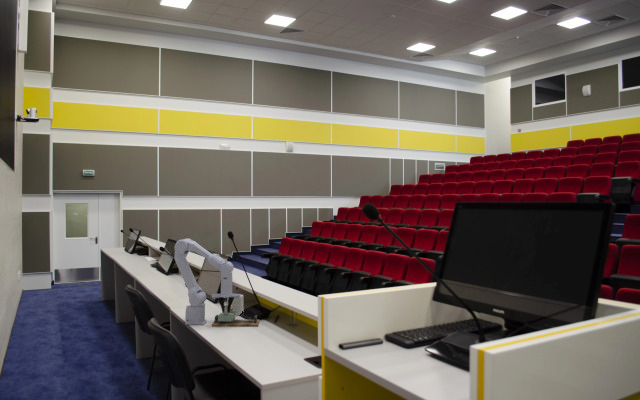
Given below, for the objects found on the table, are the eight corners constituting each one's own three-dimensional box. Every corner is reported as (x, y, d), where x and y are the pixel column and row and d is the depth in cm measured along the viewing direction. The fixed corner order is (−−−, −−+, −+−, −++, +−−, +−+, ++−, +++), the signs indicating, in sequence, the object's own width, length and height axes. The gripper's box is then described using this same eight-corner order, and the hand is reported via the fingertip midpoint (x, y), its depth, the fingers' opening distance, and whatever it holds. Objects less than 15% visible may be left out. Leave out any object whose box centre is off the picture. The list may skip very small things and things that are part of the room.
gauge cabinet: (222, 321, 239) (222, 311, 239) (223, 317, 246) (224, 308, 246) (233, 321, 240) (233, 311, 240) (235, 317, 246) (235, 308, 246)
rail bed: (211, 326, 229) (211, 318, 229) (215, 321, 239) (215, 313, 239) (257, 326, 230) (257, 318, 230) (259, 321, 240) (259, 313, 240)
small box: (243, 313, 256) (243, 294, 256) (240, 315, 251) (241, 296, 251) (229, 312, 257) (230, 294, 257) (226, 315, 252) (227, 296, 252)
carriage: (217, 321, 230) (218, 307, 230) (220, 317, 237) (220, 304, 237) (231, 321, 231) (232, 307, 231) (233, 317, 238) (234, 304, 238)
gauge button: (225, 310, 241) (225, 306, 241) (226, 308, 244) (226, 304, 244) (231, 310, 241) (231, 306, 241) (232, 308, 245) (232, 305, 245)
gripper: (210, 287, 230) (210, 314, 230) (239, 287, 230) (239, 314, 230) (213, 284, 237) (212, 310, 237) (241, 284, 237) (240, 310, 237)
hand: (226, 312), depth 234 cm, fingers closed on carriage, 2 cm apart
